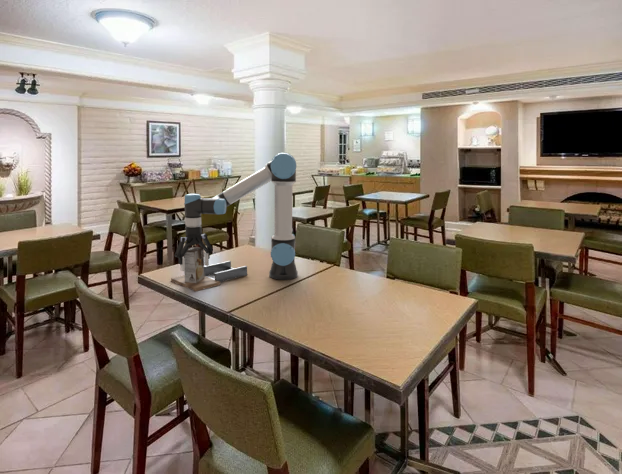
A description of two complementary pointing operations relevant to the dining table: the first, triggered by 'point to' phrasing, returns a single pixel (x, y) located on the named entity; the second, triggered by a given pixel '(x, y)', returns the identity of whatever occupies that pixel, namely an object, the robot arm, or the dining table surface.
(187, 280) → the coffee box
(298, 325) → the dining table surface
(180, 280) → the serving board
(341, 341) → the dining table surface
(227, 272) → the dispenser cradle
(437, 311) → the dining table surface
